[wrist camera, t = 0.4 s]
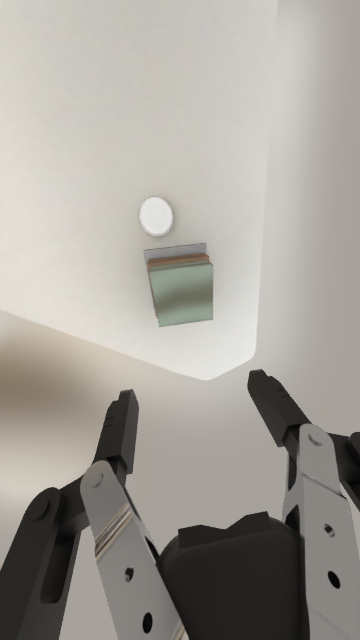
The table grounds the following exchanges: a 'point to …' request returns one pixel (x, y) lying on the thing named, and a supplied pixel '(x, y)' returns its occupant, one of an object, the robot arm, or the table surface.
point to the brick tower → (182, 288)
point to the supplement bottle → (156, 216)
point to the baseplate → (173, 253)
